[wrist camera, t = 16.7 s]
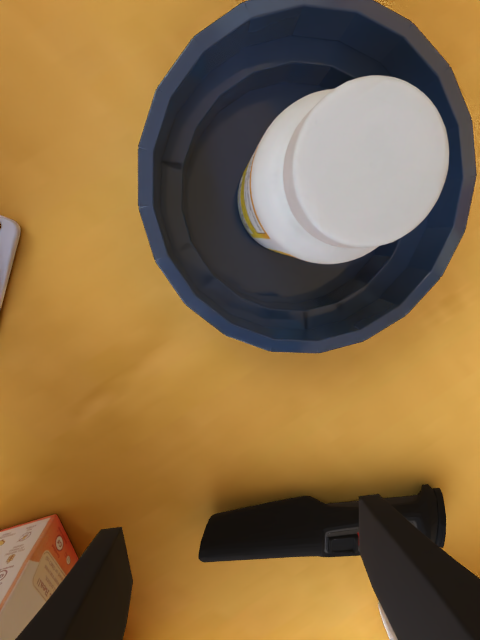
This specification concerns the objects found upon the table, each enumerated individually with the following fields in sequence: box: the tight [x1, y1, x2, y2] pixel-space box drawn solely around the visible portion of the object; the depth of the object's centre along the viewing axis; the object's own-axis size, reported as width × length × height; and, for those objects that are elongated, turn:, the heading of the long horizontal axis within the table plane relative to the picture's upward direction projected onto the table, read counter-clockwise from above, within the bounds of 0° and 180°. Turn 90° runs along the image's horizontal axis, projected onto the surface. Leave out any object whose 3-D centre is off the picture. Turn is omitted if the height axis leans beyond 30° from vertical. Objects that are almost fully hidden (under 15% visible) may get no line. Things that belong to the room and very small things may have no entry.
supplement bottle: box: [238, 75, 449, 264], centre depth 13 cm, size 5×5×10 cm
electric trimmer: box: [199, 484, 446, 562], centre depth 22 cm, size 4×16×3 cm, turn 91°
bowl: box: [138, 0, 477, 353], centre depth 16 cm, size 14×14×4 cm
